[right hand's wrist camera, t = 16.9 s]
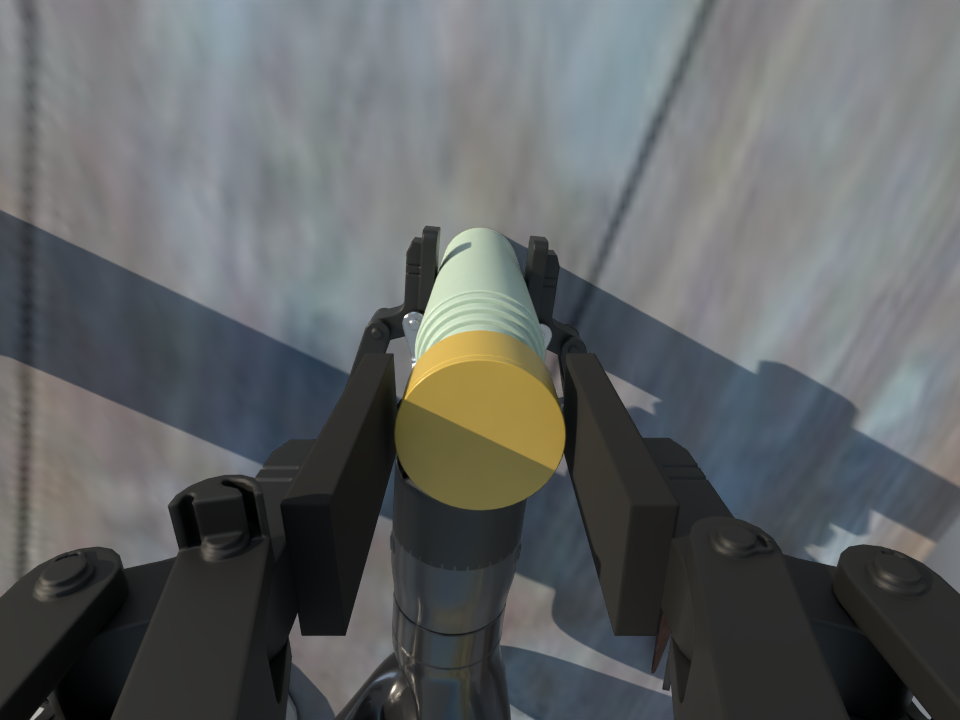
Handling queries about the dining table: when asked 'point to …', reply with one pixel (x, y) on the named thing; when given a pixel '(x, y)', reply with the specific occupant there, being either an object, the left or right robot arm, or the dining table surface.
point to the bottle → (480, 293)
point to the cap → (480, 422)
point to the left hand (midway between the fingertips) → (486, 235)
